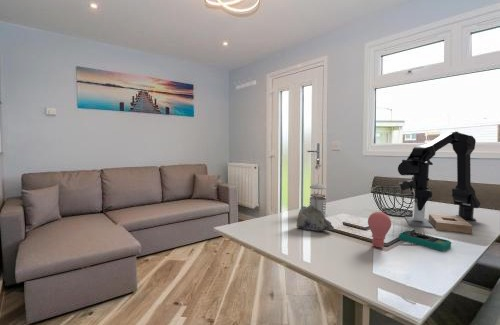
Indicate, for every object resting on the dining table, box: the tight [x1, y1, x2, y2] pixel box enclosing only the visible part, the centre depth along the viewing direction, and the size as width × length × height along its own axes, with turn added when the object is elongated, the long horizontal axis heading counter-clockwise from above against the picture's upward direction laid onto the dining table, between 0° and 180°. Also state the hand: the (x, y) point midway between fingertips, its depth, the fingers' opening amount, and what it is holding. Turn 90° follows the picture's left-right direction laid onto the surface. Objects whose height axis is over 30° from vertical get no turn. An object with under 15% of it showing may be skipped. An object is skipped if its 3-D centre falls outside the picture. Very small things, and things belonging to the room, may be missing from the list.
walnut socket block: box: [428, 213, 473, 234], centre depth 119 cm, size 16×12×3 cm
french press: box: [309, 163, 328, 218], centre depth 133 cm, size 10×12×25 cm
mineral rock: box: [296, 205, 335, 232], centre depth 110 cm, size 13×11×10 cm
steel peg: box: [411, 200, 426, 221], centre depth 123 cm, size 4×4×8 cm
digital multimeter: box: [398, 230, 452, 252], centre depth 98 cm, size 7×15×3 cm, turn 35°
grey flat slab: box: [404, 216, 434, 229], centre depth 124 cm, size 14×9×1 cm, turn 157°
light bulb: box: [367, 211, 392, 248], centre depth 93 cm, size 7×7×12 cm
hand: (418, 209), depth 123 cm, fingers closed on steel peg, 4 cm apart
